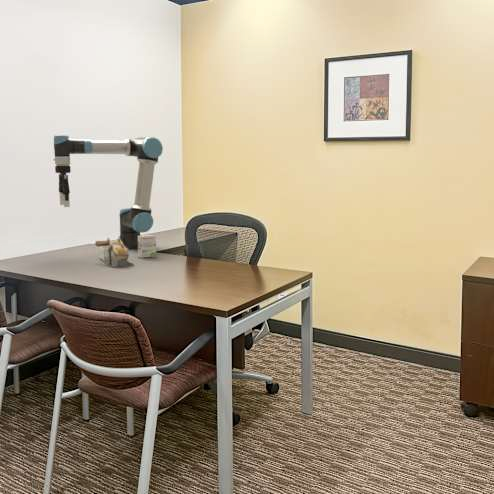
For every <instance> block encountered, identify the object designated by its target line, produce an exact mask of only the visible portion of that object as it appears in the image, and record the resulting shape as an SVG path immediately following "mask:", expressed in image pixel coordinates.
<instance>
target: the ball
mask: <svg viewBox="0 0 494 494" xmlns="http://www.w3.org/2000/svg"><path fill="white" fill-rule="evenodd" d="M119 253H125V250H124V249H123V248H120V249H118V254H119Z"/></svg>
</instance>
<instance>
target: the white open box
mask: <svg viewBox="0 0 494 494" xmlns="http://www.w3.org/2000/svg"><path fill="white" fill-rule="evenodd" d="M108 247H109V246H98V248H99V249H98V251H99V253H98V254H99V255H98V256H99V259H100V260H102V262H103V261H107V260H109V255H108V252H107V249H108ZM111 260H116V259H115V257H114V255H113V253H112V251H111Z"/></svg>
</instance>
